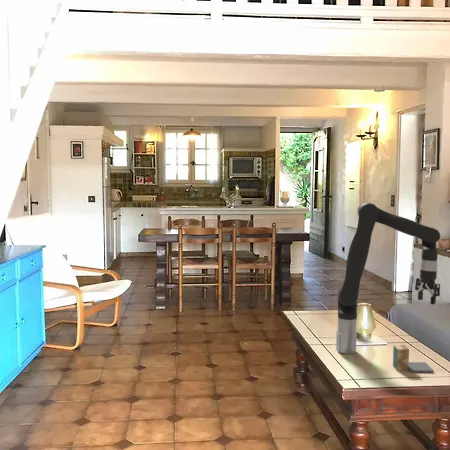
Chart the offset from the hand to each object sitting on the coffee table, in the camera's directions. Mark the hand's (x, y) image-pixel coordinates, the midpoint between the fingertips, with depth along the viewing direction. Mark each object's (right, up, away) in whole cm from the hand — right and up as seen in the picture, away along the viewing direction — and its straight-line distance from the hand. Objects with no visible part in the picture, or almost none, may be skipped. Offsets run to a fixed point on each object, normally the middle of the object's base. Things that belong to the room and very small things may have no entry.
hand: (426, 302), depth 248 cm
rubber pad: (-9, -28, -14) cm, 33 cm away
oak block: (-17, -28, -14) cm, 36 cm away
